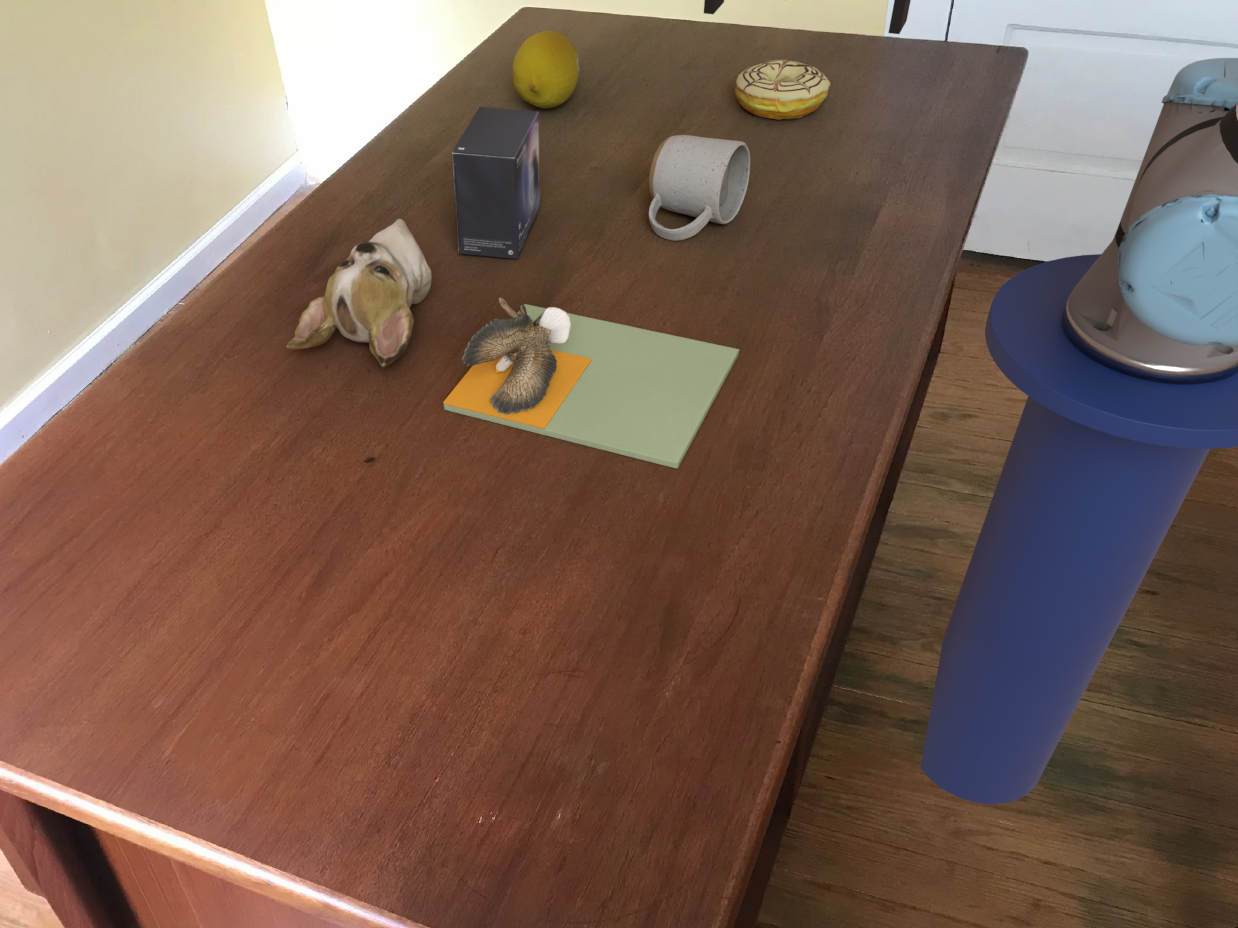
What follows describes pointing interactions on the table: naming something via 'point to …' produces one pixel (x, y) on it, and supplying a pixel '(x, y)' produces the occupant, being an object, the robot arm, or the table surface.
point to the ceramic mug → (698, 182)
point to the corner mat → (612, 390)
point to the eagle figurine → (520, 354)
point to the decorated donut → (781, 89)
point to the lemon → (546, 69)
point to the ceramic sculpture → (370, 296)
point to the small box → (497, 182)
